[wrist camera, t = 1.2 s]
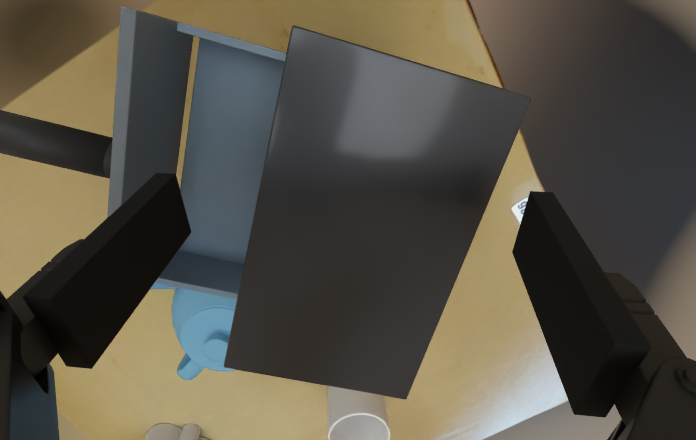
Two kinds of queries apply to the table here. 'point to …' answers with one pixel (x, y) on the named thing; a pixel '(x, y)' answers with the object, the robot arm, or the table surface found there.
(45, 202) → the table surface
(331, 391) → the mug
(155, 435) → the vase
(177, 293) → the teapot
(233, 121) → the top drawer
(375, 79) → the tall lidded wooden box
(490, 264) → the table surface
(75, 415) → the table surface
